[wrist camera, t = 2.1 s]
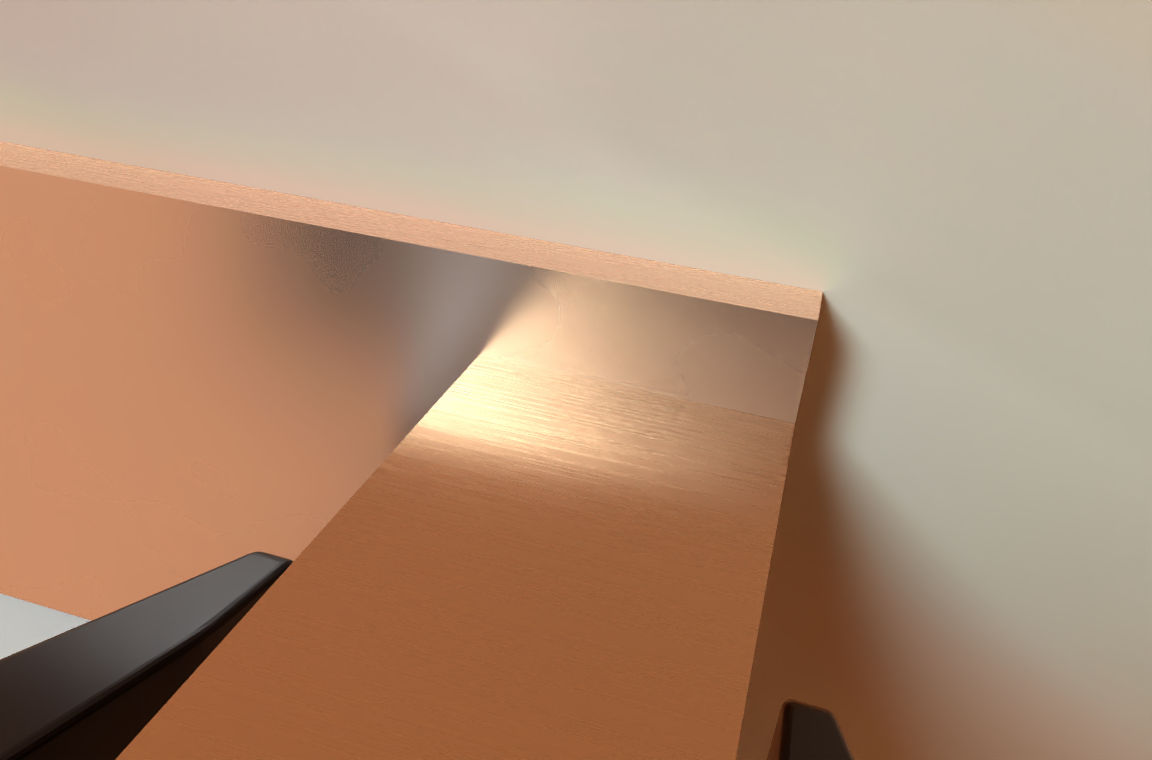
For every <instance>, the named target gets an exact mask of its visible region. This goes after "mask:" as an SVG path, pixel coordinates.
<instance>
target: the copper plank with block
mask: <svg viewBox="0 0 1152 760" xmlns="http://www.w3.org/2000/svg"><path fill="white" fill-rule="evenodd" d="M822 294H823V292H821V291H816V290H810V289H805V288H799V287H794V286H788V285H783V284H778V283H772V282H767V281H761V280H756V279H750V278H745V277H739V276H734V275H728V274H723V273H717V272H712V271H706V270H701V269H696V268H690V267H685V266H679V265H674V264H668V263H663V262H657V261H652V260H646V259H641V258H635V257H630V256H625V255H619V254H614V253H608V252H603V251H597V250H592V249H586V248H581V247H575V246H570V245H564V244H559V243H554V242H548V241H543V240H537V239H532V238H526V237H521V236H515V235H510V234H504V233H499V232H493V231H488V230H483V229H477V228H472V227H466V226H461V225H455V224H450V223H444V222H439V221H433V220H428V219H422V218H417V217H412V216H406V215H401V214H395V213H390V212H384V211H379V210H373V209H368V208H362V207H357V206H351V205H346V204H341V203H335V202H330V201H324V200H319V199H313V198H308V197H302V196H297V195H291V194H286V193H280V192H275V191H270V190H264V189H259V188H253V187H248V186H242V185H237V184H231V183H226V182H220V181H215V180H209V179H204V178H199V177H193V176H188V175H182V174H177V173H171V172H166V171H160V170H155V169H149V168H144V167H138V166H133V165H128V164H122V163H117V162H111V161H106V160H100V159H95V158H89V157H84V156H78V155H73V154H67V153H62V152H57V151H51V150H46V149H40V148H35V147H29V146H24V145H18V144H13V143H7V142H2V141H0V593H2V594H5V595H8V596H12V597H15V598H18V599H22V600H25V601H28V602H32V603H35V604H38V605H42V606H45V607H48V608H52V609H55V610H58V611H62V612H65V613H68V614H72V615H75V616H78V617H82V618H85V619H89V620H94V619H97V618H99V617H101V616H104V615H106V614H109V613H111V612H113V611H116V610H118V609H120V608H123V607H125V606H127V605H130V604H132V603H134V602H137V601H139V600H141V599H144V598H146V597H148V596H151V595H153V594H155V593H158V592H160V591H162V590H165V589H167V588H169V587H172V586H174V585H176V584H179V583H181V582H183V581H186V580H188V579H190V578H193V577H195V576H198V575H200V574H202V573H205V572H207V571H209V570H212V569H214V568H216V567H219V566H221V565H223V564H226V563H228V562H230V561H233V560H235V559H237V558H240V557H242V556H244V555H247V554H249V553H253V552H265V553H269V554H273V555H276V556H280V557H283V558H287V559H290V560H292V561H293V563H292V564H291V565H290V566H289V567H288V568H287V569H286V570H285V572H284V573H283V574H282V575H281V576H280V577H279V578H278V579H277V580H276V582H275V583H274V584H273V585H272V586H271V587H270V588H269V589H268V590H267V592H266V593H265V594H264V595H263V596H262V597H261V598H260V599H259V600H258V602H257V603H256V604H255V605H254V606H253V607H252V608H251V609H250V610H249V612H248V613H247V614H246V615H245V616H244V617H243V618H242V619H241V620H240V622H239V623H238V624H237V625H236V626H235V627H234V628H233V629H232V630H231V632H230V633H229V634H228V635H227V636H226V637H225V638H224V639H223V640H222V642H221V643H220V644H219V645H218V646H217V647H216V648H215V649H214V650H213V652H212V653H211V654H210V655H209V656H208V657H207V658H206V659H205V660H204V662H203V663H202V664H201V665H200V666H199V667H198V668H197V669H196V670H195V672H194V673H193V674H192V675H191V676H190V677H189V678H188V679H187V680H186V682H185V683H184V684H183V685H182V686H181V687H180V688H179V689H178V690H177V692H176V693H175V694H174V695H173V696H172V697H171V698H170V699H169V700H168V702H167V703H166V704H165V705H164V706H163V707H162V708H161V709H160V710H159V712H158V713H157V714H156V715H155V716H154V717H153V718H152V719H151V720H150V722H149V723H148V724H147V725H146V726H145V727H144V728H143V729H142V730H141V732H140V733H139V734H138V735H137V736H136V737H135V738H134V739H133V740H132V742H131V743H130V744H129V745H128V746H127V747H126V748H125V749H124V750H123V752H122V753H121V754H120V755H119V756H118V757H117V758H116V759H115V760H736V756H737V750H738V744H739V739H740V733H741V727H742V722H743V716H744V710H745V705H746V699H747V693H748V688H749V682H750V676H751V671H752V665H753V659H754V654H755V648H756V642H757V637H758V631H759V625H760V620H761V614H762V608H763V603H764V597H765V591H766V586H767V580H768V574H769V569H770V563H771V557H772V552H773V546H774V540H775V535H776V529H777V523H778V518H779V512H780V507H781V501H782V495H783V490H784V484H785V478H786V473H787V467H788V461H789V456H790V450H791V444H792V439H793V433H794V427H795V422H796V417H797V413H798V409H799V404H800V400H801V395H802V391H803V386H804V382H805V377H806V373H807V368H808V364H809V359H810V355H811V350H812V346H813V341H814V337H815V332H816V328H817V324H818V319H819V312H820V306H821V300H822Z"/></svg>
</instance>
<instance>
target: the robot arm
mask: <svg viewBox="0 0 1152 760" xmlns="http://www.w3.org/2000/svg"><path fill="white" fill-rule="evenodd" d="M292 563H293V561H292V560H290V559H287V558H283V557H280V556H276V555H273V554H269V553H265V552H253V553H249V554H247V555H244V556H242V557H240V558H237V559H235V560H233V561H230V562H228V563H226V564H223V565H221V566H219V567H216V568H214V569H212V570H209V571H207V572H205V573H202V574H200V575H198V576H195V577H193V578H190V579H188V580H186V581H183V582H181V583H179V584H176V585H174V586H172V587H169V588H167V589H165V590H162V591H160V592H158V593H155V594H153V595H151V596H148V597H146V598H144V599H141V600H139V601H137V602H134V603H132V604H130V605H127V606H125V607H123V608H120V609H118V610H116V611H113V612H111V613H109V614H106V615H104V616H101V617H99V618H97V619H94V620H92V621H90V622H87V623H85V624H83V625H80V626H78V627H76V628H73V629H71V630H69V631H66V632H64V633H62V634H59V635H57V636H55V637H52V638H50V639H48V640H45V641H43V642H41V643H38V644H36V645H34V646H31V647H29V648H27V649H24V650H22V651H20V652H17V653H15V654H12V655H10V656H8V657H5V658H3V659H1V660H0V760H115V759H116V758H117V757H118V756H119V755H120V754H121V753H122V752H123V750H124V749H125V748H126V747H127V746H128V745H129V744H130V743H131V742H132V740H133V739H134V738H135V737H136V736H137V735H138V734H139V733H140V732H141V730H142V729H143V728H144V727H145V726H146V725H147V724H148V723H149V722H150V720H151V719H152V718H153V717H154V716H155V715H156V714H157V713H158V712H159V710H160V709H161V708H162V707H163V706H164V705H165V704H166V703H167V702H168V700H169V699H170V698H171V697H172V696H173V695H174V694H175V693H176V692H177V690H178V689H179V688H180V687H181V686H182V685H183V684H184V683H185V682H186V680H187V679H188V678H189V677H190V676H191V675H192V674H193V673H194V672H195V670H196V669H197V668H198V667H199V666H200V665H201V664H202V663H203V662H204V660H205V659H206V658H207V657H208V656H209V655H210V654H211V653H212V652H213V650H214V649H215V648H216V647H217V646H218V645H219V644H220V643H221V642H222V640H223V639H224V638H225V637H226V636H227V635H228V634H229V633H230V632H231V630H232V629H233V628H234V627H235V626H236V625H237V624H238V623H239V622H240V620H241V619H242V618H243V617H244V616H245V615H246V614H247V613H248V612H249V610H250V609H251V608H252V607H253V606H254V605H255V604H256V603H257V602H258V600H259V599H260V598H261V597H262V596H263V595H264V594H265V593H266V592H267V590H268V589H269V588H270V587H271V586H272V585H273V584H274V583H275V582H276V580H277V579H278V578H279V577H280V576H281V575H282V574H283V573H284V572H285V570H286V569H287V568H288V567H289V566H290V565H291V564H292ZM767 760H854V759H853V757H852V754H851V752H850V750H849V747H848V745H847V743H846V741H845V738H844V736H843V734H842V731H841V729H840V727H839V724H838V722H837V720H836V718H835V716H834V715H833V714H832V713H831V712H830V711H829V710H827V709H824V708H820V707H817V706H813V705H810V704H806V703H803V702H799V701H795V700H787V701H786V702H785V703H784V704H783V705H782V708H781V711H780V714H779V718H778V721H777V725H776V729H775V732H774V736H773V740H772V743H771V747H770V751H769V754H768V758H767Z"/></svg>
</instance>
